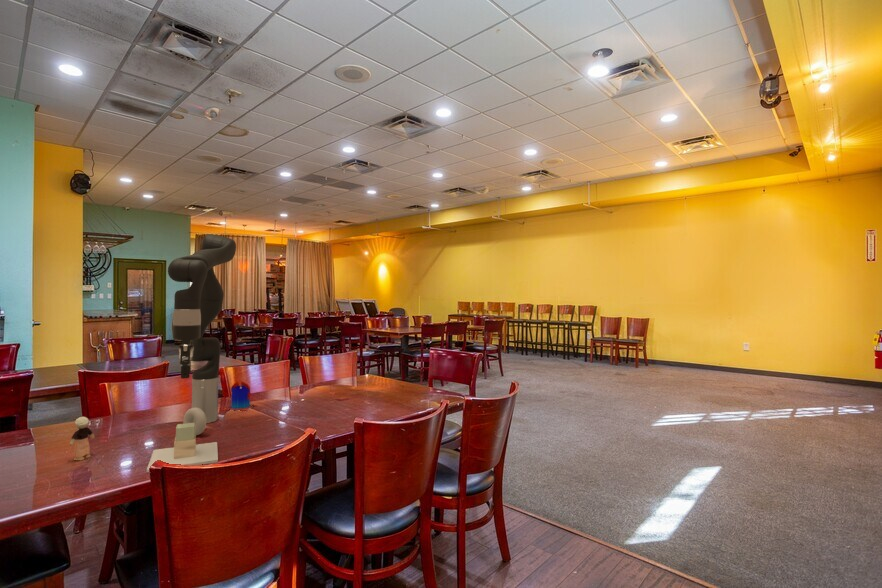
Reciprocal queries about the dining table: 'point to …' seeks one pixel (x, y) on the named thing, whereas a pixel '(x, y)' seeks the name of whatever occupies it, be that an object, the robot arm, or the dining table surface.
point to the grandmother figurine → (81, 439)
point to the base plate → (202, 456)
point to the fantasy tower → (240, 397)
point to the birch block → (184, 448)
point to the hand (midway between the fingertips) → (185, 375)
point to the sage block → (185, 432)
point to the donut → (199, 418)
